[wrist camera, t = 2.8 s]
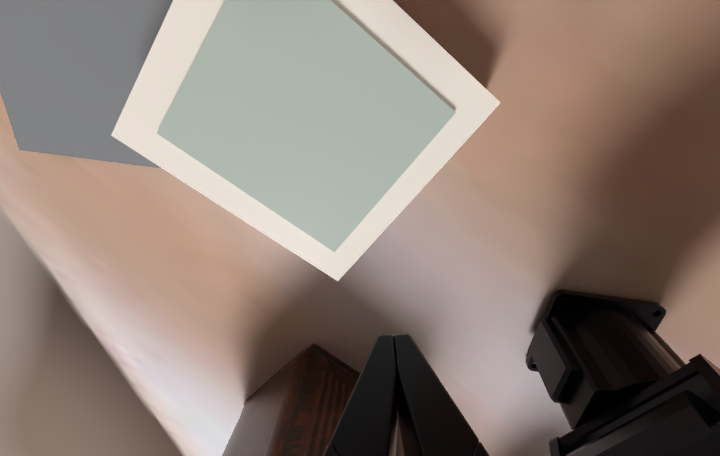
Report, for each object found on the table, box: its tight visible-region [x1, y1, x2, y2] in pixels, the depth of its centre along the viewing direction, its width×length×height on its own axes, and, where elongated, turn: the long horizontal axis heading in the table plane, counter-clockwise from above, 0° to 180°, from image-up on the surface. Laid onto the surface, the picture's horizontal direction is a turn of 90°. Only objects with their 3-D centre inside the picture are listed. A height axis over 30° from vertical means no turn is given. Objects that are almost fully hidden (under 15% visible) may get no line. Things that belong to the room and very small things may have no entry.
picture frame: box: [111, 0, 500, 281], centre depth 17 cm, size 3×12×13 cm
